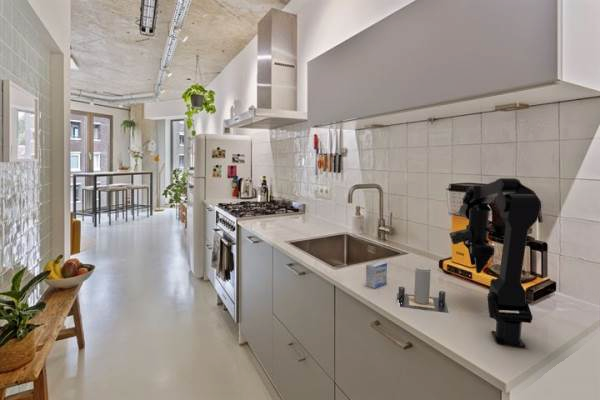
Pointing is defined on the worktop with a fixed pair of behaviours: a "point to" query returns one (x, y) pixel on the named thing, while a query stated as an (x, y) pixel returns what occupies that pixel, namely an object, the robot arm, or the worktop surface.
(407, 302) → the post gate
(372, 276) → the medicine box
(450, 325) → the worktop surface
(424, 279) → the beverage can
